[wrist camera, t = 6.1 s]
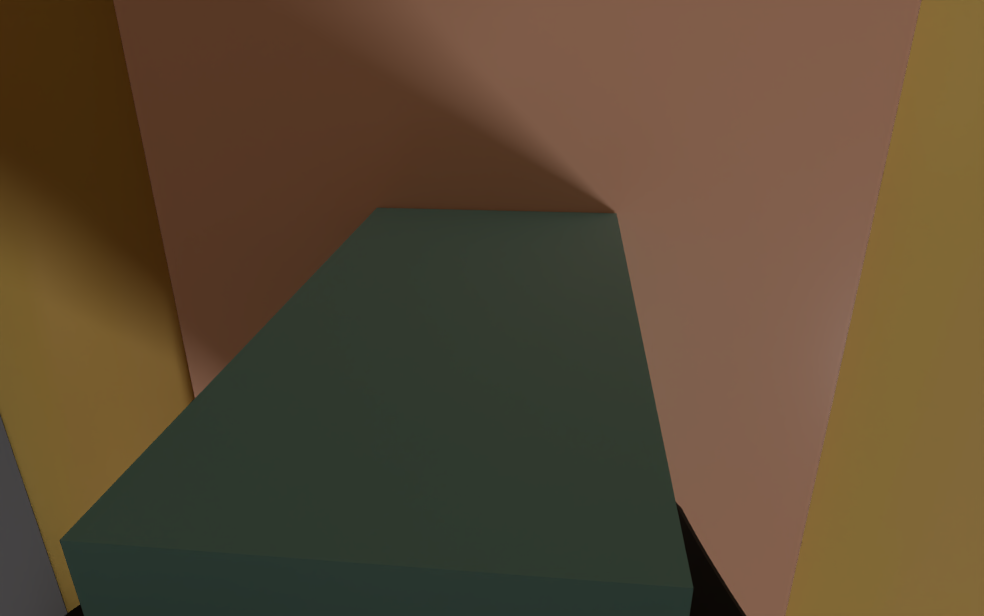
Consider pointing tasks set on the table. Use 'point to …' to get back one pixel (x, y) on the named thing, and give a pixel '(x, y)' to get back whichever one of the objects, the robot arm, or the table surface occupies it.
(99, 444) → the table surface
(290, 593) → the teal block
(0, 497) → the pocket board
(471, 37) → the terracotta tile
